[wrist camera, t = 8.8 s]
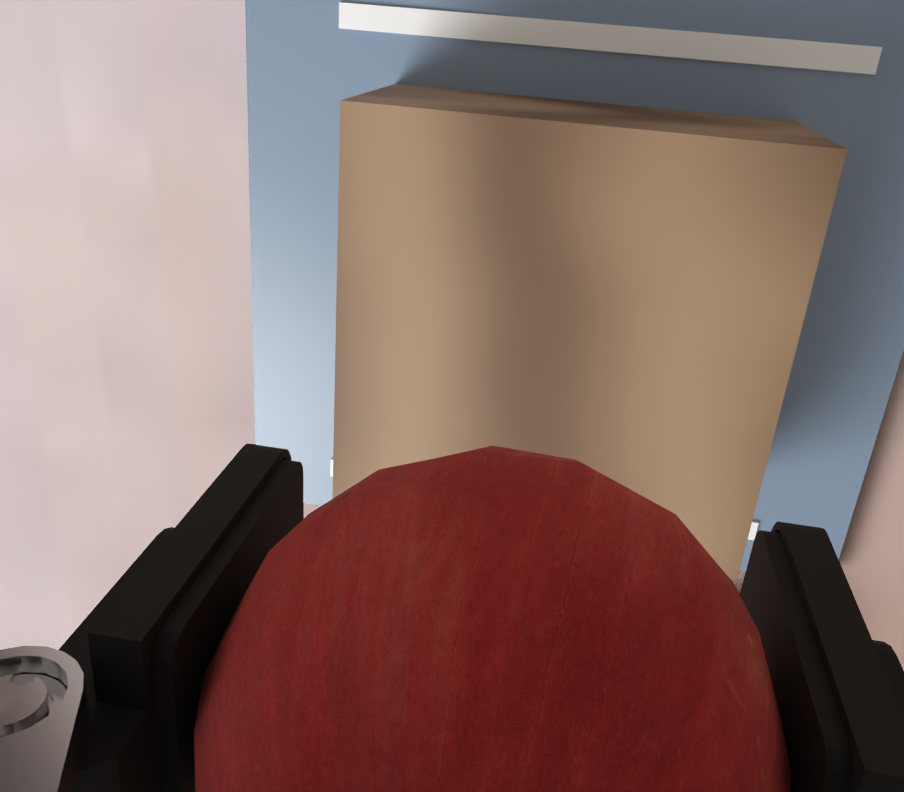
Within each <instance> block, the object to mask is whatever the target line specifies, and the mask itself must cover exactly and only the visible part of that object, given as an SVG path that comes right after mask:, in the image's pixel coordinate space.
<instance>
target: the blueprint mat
mask: <svg viewBox="0 0 904 792" xmlns="http://www.w3.org/2000/svg"><path fill="white" fill-rule="evenodd" d="M245 8H246V53H247V98H248V143H249V188H250V233H251V278H252V323H253V367H254V412H255V445H261V446H268V447H275V448H282V449H288V451H289V452H290V455H291V461H298V462H301V463H302V466H303V503H307V504H314V505H320V506H322V505H324V504H325V503H327V502H329V501H330V500H332V493H333V443H334V393H335V343H336V292H337V242H338V192H339V141H340V100H343V99H347V98H350V97H353V96H356V95H360V94H363V93H366V92H370V91H373V90H376V89H380V88H383V87H386V86H389V85H393V84H404V85H414V86H425V87H436V88H446V89H457V90H468V91H478V92H489V93H500V94H510V95H521V96H532V97H543V98H553V99H564V100H575V101H585V102H596V103H607V104H617V105H628V106H639V107H649V108H660V109H671V110H682V111H692V112H703V113H714V114H724V115H735V116H746V117H756V118H767V119H778V120H788V121H797V122H799V123H800V124H802V125H804V126H806V127H808V128H809V129H811V130H813V131H815V132H817V133H819V134H820V135H822V136H824V137H826V138H828V139H829V140H831V141H833V142H835V143H837V144H838V145H840V146H842V147H844V148H846V149H847V153H846V157H845V161H844V165H843V169H842V173H841V176H840V180H839V184H838V188H837V192H836V196H835V200H834V204H833V208H832V212H831V215H830V219H829V223H828V227H827V231H826V235H825V239H824V243H823V247H822V251H821V255H820V258H819V262H818V266H817V270H816V274H815V278H814V282H813V286H812V290H811V294H810V297H809V301H808V305H807V309H806V313H805V317H804V321H803V325H802V329H801V333H800V337H799V340H798V344H797V348H796V352H795V356H794V360H793V364H792V368H791V372H790V376H789V380H788V383H787V387H786V391H785V395H784V399H783V403H782V407H781V411H780V415H779V419H778V422H777V426H776V430H775V434H774V438H773V442H772V446H771V450H770V454H769V458H768V462H767V465H766V469H765V473H764V477H763V481H762V485H761V489H760V493H759V497H758V501H757V504H756V508H755V512H754V516H753V520H752V524H751V528H750V532H749V536H748V540H747V544H746V547H745V551H744V555H743V559H742V563H741V567H740V571H743V572H746V569H747V565H748V562H749V558H750V554H751V550H752V546H753V542H754V539H755V536H756V534H757V532H758V531H759V530H763V531H770V532H771V530H772V528H773V526H774V524H775V523H776V522H778V521H779V522H786V523H792V524H799V525H806V526H813V527H820V528H824V529H825V530H826V532H827V534H828V536H829V538H830V541H831V543H832V546H833V548H834V550H835V553H836V555H837V558H838V560H839V557H840V554H841V550H842V547H843V544H844V541H845V538H846V534H847V531H848V528H849V525H850V521H851V518H852V515H853V512H854V509H855V505H856V502H857V499H858V496H859V493H860V489H861V486H862V483H863V480H864V477H865V473H866V470H867V467H868V464H869V460H870V457H871V454H872V451H873V448H874V444H875V441H876V438H877V435H878V432H879V428H880V425H881V422H882V419H883V416H884V412H885V409H886V406H887V403H888V399H889V396H890V393H891V390H892V387H893V383H894V380H895V377H896V374H897V371H898V367H899V364H900V361H901V358H902V354H903V351H904V0H245Z"/></svg>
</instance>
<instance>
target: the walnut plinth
mask: <svg viewBox="0 0 904 792" xmlns="http://www.w3.org/2000/svg"><path fill="white" fill-rule="evenodd" d="M846 153H847V149H846V148H844V147H842V146H840V145H838V144H837V143H835V142H833V141H831V140H829V139H828V138H826V137H824V136H822V135H820V134H819V133H817V132H815V131H813V130H811V129H809V128H808V127H806V126H804V125H802V124H800V123H799V122H797V121H788V120H778V119H767V118H756V117H746V116H735V115H724V114H714V113H703V112H692V111H682V110H671V109H660V108H649V107H639V106H628V105H617V104H607V103H596V102H585V101H575V100H564V99H553V98H543V97H532V96H521V95H510V94H500V93H489V92H478V91H468V90H457V89H446V88H436V87H425V86H414V85H404V84H393V85H389V86H386V87H383V88H380V89H376V90H373V91H370V92H366V93H363V94H360V95H356V96H353V97H350V98H347V99H343V100H340V141H339V192H338V242H337V292H336V343H335V393H334V443H333V493H332V499H333V498H335V497H336V496H338V495H339V494H341V493H343V492H344V491H346V490H347V489H349V488H350V487H352V486H354V485H355V484H357V483H358V482H360V481H361V480H363V479H365V478H366V477H368V476H369V475H371V474H372V473H374V472H376V471H377V470H379V469H384V468H389V467H394V466H399V465H404V464H409V463H414V462H419V461H424V460H429V459H434V458H439V457H443V456H448V455H452V454H457V453H461V452H466V451H470V450H475V449H479V448H484V447H488V446H499V447H504V448H510V449H516V450H522V451H528V452H534V453H539V454H545V455H551V456H557V457H563V458H568V459H574V460H578V461H579V462H581V463H583V464H585V465H587V466H589V467H590V468H592V469H594V470H596V471H598V472H600V473H601V474H603V475H605V476H607V477H609V478H610V479H612V480H614V481H616V482H618V483H620V484H621V485H623V486H625V487H627V488H629V489H631V490H632V491H634V492H636V493H638V494H640V495H641V496H643V497H645V498H647V499H649V500H651V501H652V502H654V503H656V504H658V505H660V506H662V507H663V508H665V509H667V510H669V511H671V512H673V513H674V514H676V515H677V516H678V517H679V519H680V520H681V521H682V522H683V523H684V525H685V526H686V527H687V528H688V529H689V531H690V532H691V533H692V534H693V535H694V536H695V538H696V539H697V540H698V541H699V542H700V544H701V545H702V546H703V547H704V548H705V550H706V551H707V552H708V553H709V554H710V556H711V557H712V558H713V559H714V560H715V562H716V563H717V564H718V565H719V566H720V568H721V569H722V570H723V571H724V572H725V573H726V575H727V576H728V577H729V578H730V579H736V580H737V579H738V575H739V571H740V567H741V563H742V559H743V555H744V551H745V547H746V544H747V540H748V536H749V532H750V528H751V524H752V520H753V516H754V512H755V508H756V504H757V501H758V497H759V493H760V489H761V485H762V481H763V477H764V473H765V469H766V465H767V462H768V458H769V454H770V450H771V446H772V442H773V438H774V434H775V430H776V426H777V422H778V419H779V415H780V411H781V407H782V403H783V399H784V395H785V391H786V387H787V383H788V380H789V376H790V372H791V368H792V364H793V360H794V356H795V352H796V348H797V344H798V340H799V337H800V333H801V329H802V325H803V321H804V317H805V313H806V309H807V305H808V301H809V297H810V294H811V290H812V286H813V282H814V278H815V274H816V270H817V266H818V262H819V258H820V255H821V251H822V247H823V243H824V239H825V235H826V231H827V227H828V223H829V219H830V215H831V212H832V208H833V204H834V200H835V196H836V192H837V188H838V184H839V180H840V176H841V173H842V169H843V165H844V161H845V157H846Z"/></svg>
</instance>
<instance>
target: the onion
mask: <svg viewBox="0 0 904 792" xmlns="http://www.w3.org/2000/svg"><path fill="white" fill-rule="evenodd" d="M194 759H195V791H196V792H791V781H792V772H791V767H790V762H789V757H788V752H787V746H786V741H785V736H784V731H783V726H782V721H781V716H780V711H779V707H778V703H777V700H776V696H775V692H774V688H773V684H772V680H771V676H770V673H769V669H768V665H767V661H766V657H765V653H764V649H763V645H762V642H761V638H760V634H759V631H758V629H757V627H756V625H755V623H754V622H753V620H752V618H751V616H750V614H749V612H748V610H747V608H746V606H745V604H744V602H743V600H742V598H741V596H740V594H739V592H738V591H737V589H736V587H735V585H734V583H733V582H732V581H731V579H730V578H729V577H728V576H727V575H726V573H725V572H724V571H723V570H722V569H721V568H720V566H719V565H718V564H717V563H716V562H715V560H714V559H713V558H712V557H711V556H710V554H709V553H708V552H707V551H706V550H705V548H704V547H703V546H702V545H701V544H700V542H699V541H698V540H697V539H696V538H695V536H694V535H693V534H692V533H691V532H690V531H689V529H688V528H687V527H686V526H685V525H684V523H683V522H682V521H681V520H680V519H679V517H678V516H677V515H676V514H674V513H673V512H671V511H669V510H667V509H665V508H663V507H662V506H660V505H658V504H656V503H654V502H652V501H651V500H649V499H647V498H645V497H643V496H641V495H640V494H638V493H636V492H634V491H632V490H631V489H629V488H627V487H625V486H623V485H621V484H620V483H618V482H616V481H614V480H612V479H610V478H609V477H607V476H605V475H603V474H601V473H600V472H598V471H596V470H594V469H592V468H590V467H589V466H587V465H585V464H583V463H581V462H579V461H578V460H574V459H568V458H563V457H557V456H551V455H545V454H539V453H534V452H528V451H522V450H516V449H510V448H504V447H499V446H488V447H484V448H479V449H475V450H470V451H466V452H461V453H457V454H452V455H448V456H443V457H439V458H434V459H429V460H424V461H419V462H414V463H409V464H404V465H399V466H394V467H389V468H384V469H379V470H377V471H376V472H374V473H372V474H371V475H369V476H368V477H366V478H365V479H363V480H361V481H360V482H358V483H357V484H355V485H354V486H352V487H350V488H349V489H347V490H346V491H344V492H343V493H341V494H339V495H338V496H336V497H335V498H333V499H332V500H330V501H329V502H327V503H325V504H324V505H322V506H321V507H319V508H318V509H316V510H314V511H313V512H311V513H310V514H309V515H307V516H306V517H305V518H304V519H303V520H302V521H301V522H300V523H299V524H298V525H297V526H296V527H294V528H293V529H292V530H291V531H290V532H289V533H288V534H287V535H286V536H285V537H284V538H283V539H282V540H280V541H279V542H278V543H277V544H276V545H275V546H274V547H273V548H272V549H271V550H270V551H269V552H268V553H267V555H266V557H265V559H264V561H263V562H262V564H261V566H260V568H259V569H258V571H257V573H256V575H255V577H254V578H253V580H252V582H251V584H250V585H249V587H248V589H247V591H246V593H245V594H244V596H243V598H242V600H241V602H240V603H239V605H238V607H237V609H236V610H235V612H234V614H233V616H232V618H231V619H230V622H229V624H228V626H227V628H226V630H225V632H224V634H223V636H222V638H221V640H220V642H219V644H218V646H217V648H216V651H215V653H214V655H213V657H212V659H211V661H210V663H209V665H208V667H207V670H206V672H205V674H204V676H203V681H202V687H201V693H200V699H199V705H198V711H197V716H196V722H195V728H194Z"/></svg>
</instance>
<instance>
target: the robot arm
mask: <svg viewBox="0 0 904 792" xmlns="http://www.w3.org/2000/svg"><path fill="white" fill-rule="evenodd" d="M302 520H303V466H302V463H301V462H298V461H291V455H290V452H289V451H288V449H282V448H275V447H268V446H261V445H255V444H246V445H245V446H243V447H242V449H241V450H240V451H239V452H238V453H237V455H236V456H235V457H234V458H233V459H232V461H231V462H230V463H229V464H228V465H227V467H226V468H225V469H224V470H223V471H222V472H221V474H220V475H219V476H218V477H217V478H216V480H215V481H214V482H213V483H212V484H211V486H210V487H209V488H208V489H207V490H206V492H205V493H204V494H203V495H202V496H201V498H200V499H199V500H198V501H197V502H196V503H195V505H194V506H193V507H192V508H191V509H190V511H189V512H188V513H187V514H186V515H185V517H184V518H183V519H182V520H181V521H180V523H179V524H178V525H177V526H176V527H175V528H172V527H171V528H167V529H164V530H163V531H162V532H161V533H159V534H158V535H157V536H156V537H155V539H154V540H153V541H152V542H151V543H150V544H149V546H148V547H147V548H146V549H145V550H144V551H143V553H142V554H141V555H140V556H139V557H138V558H137V560H136V561H135V562H134V563H133V564H132V565H131V566H130V568H129V569H128V570H127V571H126V572H125V573H124V575H123V576H122V577H121V578H120V579H119V580H118V582H117V583H116V584H115V585H114V586H113V587H112V589H111V590H110V591H109V592H108V593H107V594H106V596H105V597H104V598H103V599H102V600H101V601H100V603H99V604H98V605H97V606H96V607H95V608H94V609H93V611H92V612H91V613H90V614H89V615H88V616H87V618H86V619H85V620H84V621H83V622H82V623H81V625H80V626H79V627H78V628H77V629H76V630H75V632H74V633H73V634H72V635H71V636H70V637H69V639H68V640H67V641H66V642H65V643H64V644H63V645H62V647H61V648H60V649H59V650H56V649H53V648H49V647H44V646H21V647H15V648H9V649H3V650H0V792H196V791H195V759H194V728H195V722H196V716H197V711H198V705H199V699H200V693H201V687H202V681H203V676H204V674H205V672H206V670H207V667H208V665H209V663H210V661H211V659H212V657H213V655H214V653H215V651H216V648H217V646H218V644H219V642H220V640H221V638H222V636H223V634H224V632H225V630H226V628H227V626H228V624H229V622H230V619H231V618H232V616H233V614H234V612H235V610H236V609H237V607H238V605H239V603H240V602H241V600H242V598H243V596H244V594H245V593H246V591H247V589H248V587H249V585H250V584H251V582H252V580H253V578H254V577H255V575H256V573H257V571H258V569H259V568H260V566H261V564H262V562H263V561H264V559H265V557H266V555H267V553H268V552H269V551H270V550H271V549H272V548H273V547H274V546H275V545H276V544H277V543H278V542H279V541H280V540H282V539H283V538H284V537H285V536H286V535H287V534H288V533H289V532H290V531H291V530H292V529H293V528H294V527H296V526H297V525H298V524H299V523H300V522H301V521H302ZM740 596H741V598H742V600H743V602H744V604H745V606H746V608H747V610H748V612H749V614H750V616H751V618H752V620H753V622H754V623H755V625H756V627H757V629H758V631H759V634H760V638H761V642H762V645H763V649H764V653H765V657H766V661H767V665H768V669H769V673H770V676H771V680H772V684H773V688H774V692H775V696H776V700H777V703H778V707H779V711H780V716H781V721H782V726H783V731H784V736H785V741H786V746H787V752H788V757H789V762H790V767H791V772H792V781H791V792H904V671H903V669H902V667H901V664H900V662H899V660H898V658H897V655H896V654H895V652H894V651H893V649H892V647H891V646H890V645H888V644H887V643H885V642H881V641H875V640H872V639H871V636H870V634H869V631H868V629H867V627H866V624H865V622H864V620H863V617H862V615H861V612H860V610H859V608H858V605H857V603H856V600H855V598H854V596H853V593H852V591H851V589H850V586H849V584H848V581H847V579H846V577H845V574H844V572H843V569H842V567H841V565H840V562H839V560H838V558H837V555H836V553H835V550H834V548H833V546H832V543H831V541H830V538H829V536H828V534H827V532H826V530H825V529H824V528H820V527H813V526H806V525H799V524H792V523H786V522H779V521H778V522H776V523H775V524H774V526H773V528H772V530H771V532H770V531H763V530H759V531H758V532H757V534H756V536H755V539H754V542H753V546H752V550H751V554H750V558H749V562H748V565H747V569H746V573H745V577H744V581H743V584H742V588H741V592H740Z"/></svg>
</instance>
